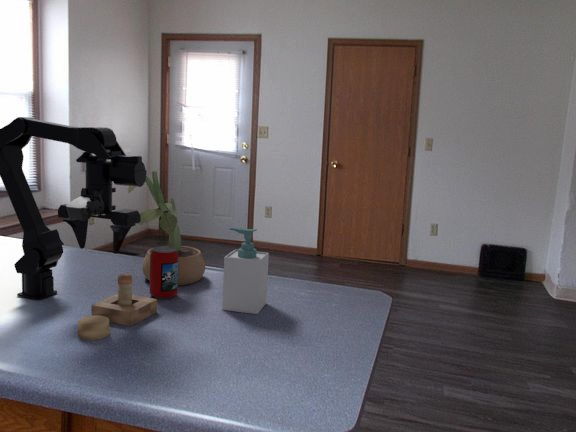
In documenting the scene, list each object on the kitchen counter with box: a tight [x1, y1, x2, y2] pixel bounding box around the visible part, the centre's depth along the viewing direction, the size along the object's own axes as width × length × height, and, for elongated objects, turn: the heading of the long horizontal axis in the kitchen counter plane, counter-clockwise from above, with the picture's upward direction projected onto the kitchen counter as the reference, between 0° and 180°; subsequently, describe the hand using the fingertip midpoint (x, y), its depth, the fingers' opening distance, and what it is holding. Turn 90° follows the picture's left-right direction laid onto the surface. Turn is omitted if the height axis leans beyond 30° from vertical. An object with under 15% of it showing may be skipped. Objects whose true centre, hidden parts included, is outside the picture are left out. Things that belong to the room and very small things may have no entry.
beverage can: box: [149, 245, 179, 300], centre depth 138 cm, size 7×7×12 cm
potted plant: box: [127, 170, 206, 286], centre depth 150 cm, size 22×18×30 cm
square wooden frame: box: [90, 293, 158, 327], centre depth 124 cm, size 10×10×3 cm
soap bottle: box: [221, 226, 270, 315], centre depth 133 cm, size 9×9×19 cm
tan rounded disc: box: [77, 315, 110, 341], centre depth 113 cm, size 6×6×3 cm
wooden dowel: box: [117, 273, 133, 307], centre depth 123 cm, size 3×3×9 cm
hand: (98, 250), depth 129 cm, fingers open, 9 cm apart
